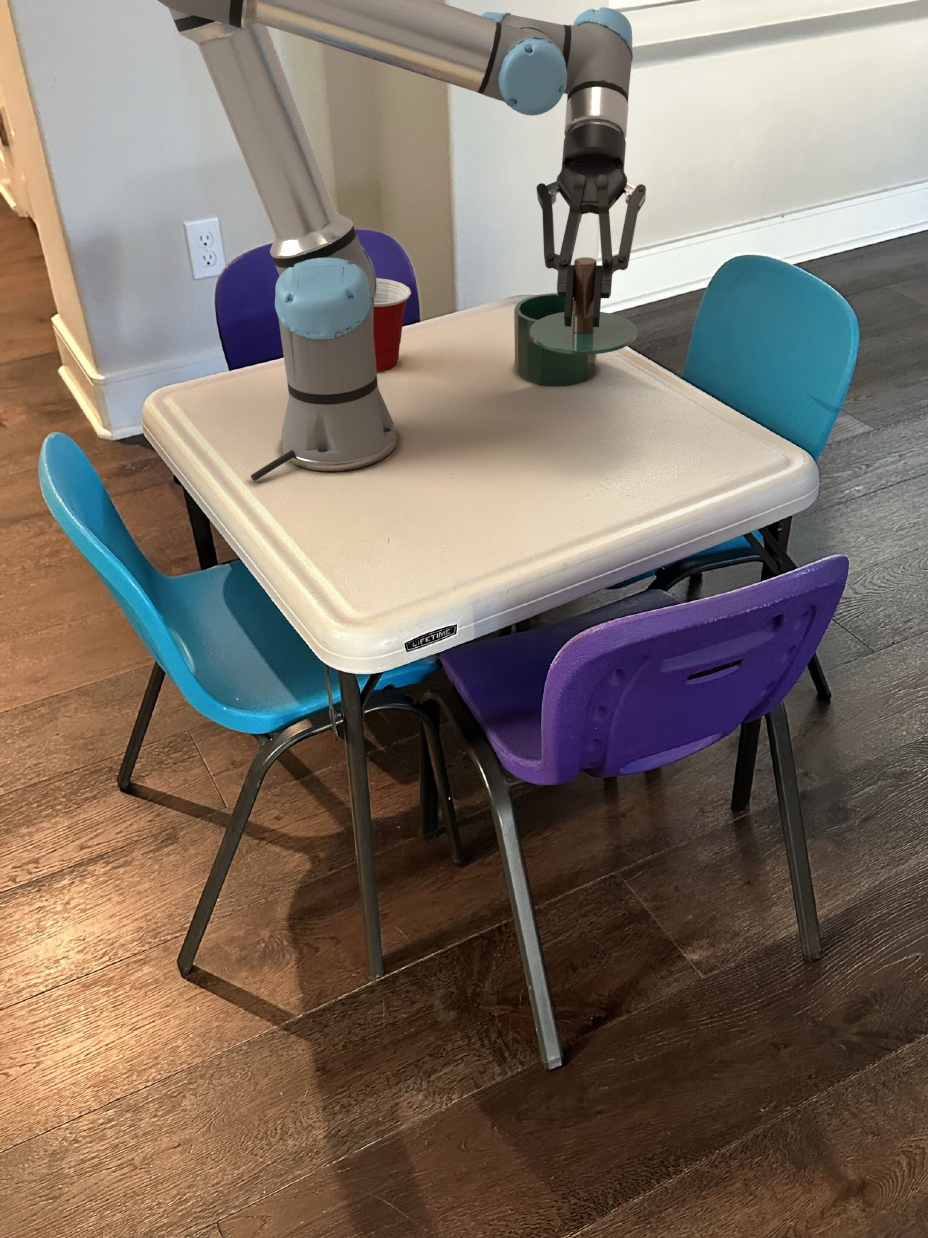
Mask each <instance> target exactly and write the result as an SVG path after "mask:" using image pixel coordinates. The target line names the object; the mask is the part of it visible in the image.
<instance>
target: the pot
mask: <svg viewBox="0 0 928 1238" xmlns="http://www.w3.org/2000/svg"><path fill="white" fill-rule="evenodd" d="M564 311H565V297H559V296H558V293H557V292H551V293H542V294H536V295H531V296H529V297H525V298H523V299H522V300H520V301H518V302H517V303H516V304H515V307H514V310H513V313H514V314H513V316H514V317H513V318H514V319H513V320H514V322H513V323H514V326H513V327H514V330H513V331H514V368H515V373H516V375H517V376H518V377H519V378H521V379H522V380H523V381H526V382H529V383H532V384H536V385H540V386H541V385H542V386H550V387H551V386H556V387H557V386H558V387H559V386H569V385H574V384H578V383H581V382H584V381H586V380H588V379H590V378H592V377H593V375H594V374H595V372H596V370H597V369H596V368H597V359H598V358H597V355H598V354H592V355H575V354H565V353H559V352H555V351H551V350H548V349H545V348H543V347H541V346H539V345H537V344H536V343H535V342H534V341H533V340H532V339H531V337H530V328H531V326H532V325H533V324H534V323H535V322H536V321H538V320H539V319H541V318H543V317H546V316H549V315H552V314H556V313H561V312H564ZM572 311H573V310H572Z"/></svg>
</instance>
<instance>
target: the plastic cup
mask: <svg viewBox="0 0 928 1238" xmlns="http://www.w3.org/2000/svg"><path fill="white" fill-rule="evenodd" d="M411 294H412V292H411V289H410V287H409V286H407V285H406V284H404V283H403V282H399V281H396V280H392V279H385V278H378V277H376V294H375V299H374V315H373V335H374V347H375V359H376V370H377V373H380V372H381V373H382V372H387V371H390V370H393V369H395V368H396V367H397V365H398V361H399V359H400V358H399V357H400V347H401V346H400V345H401V343H402V333H403V324H404V316H405V310H406V306H407V302H408V300H409V298H410V296H411Z"/></svg>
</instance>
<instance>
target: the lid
mask: <svg viewBox="0 0 928 1238" xmlns="http://www.w3.org/2000/svg"><path fill="white" fill-rule="evenodd" d="M573 265H574V297H573V311H572V323H571V327H569V326H565V322H564V312H561V313H556V314H552V315H549V316H546V317H543V318H541V319H539V320H538V321H536V322H535V323H534V324H533V325H532V326H531V328H530V337H531V339H532V340H533V341H534V342H535V343H536V344H537V345H539V346H541V347H543V348H545V349H548V350H551V351H555V352H559V353H565V354H575V355H592V354H597V355H601V354H609V353H612V352H616V351H618V350H622V349H624V348H626V347H628V346H629V345H632V343H633V342H634V341H636V338H637V334H638V330H637V327H636V325H635V324H634V323H633V322H632V321H630V320H629V319H627V318H625V317H623V316H621V315H617V314H614V313H610V312H605V311H600V321H599V327H593V322H592V315H593V301H594V287H595V273H596V265H597V259H595V258H593V257H589V256H588V257H587V256H586V257H585V256H584V257H578V258H576V259H574V262H573Z"/></svg>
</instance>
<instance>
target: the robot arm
mask: <svg viewBox="0 0 928 1238" xmlns="http://www.w3.org/2000/svg"><path fill="white" fill-rule="evenodd" d="M157 2H159V3H160V4H162V5H164V7H166V8H168V10H169V13H170V15H171V18H172V20H173V22H174V25H175V28H176V30H177V32H178V34H179V36H182V37H184V38H186V39H188V40H189V41H192V42H193V43H195V44H196V45H197V47H198V50H199V52H200V54H201V57H202V59H203V61H204V64H205V66H206V69H207V72H208V74H209V77H210V80H211V81H212V84H213V86H214V89H215V91H216V93H217V96H218V98H219V101H220V103H221V105H222V108H223V110H224V113H225V115H226V118H227V120H228V123H229V125H230V127H231V130H232V133H233V135H234V137H235V140H236V143H237V145H238V147H239V150H240V153H241V155H242V157H243V159H244V162H245V165H246V167H247V169H248V172H249V174H250V177H251V180H252V182H253V184H254V187H255V189H256V191H257V194H258V196H259V198H260V201H261V204H262V206H263V208H264V211H265V213H266V217H267V218H268V220H269V223H270V226H271V228H272V230H273V233H274V239H273V243H272V245H271V247H270V249H269V253H270V255H271V258H272V260H273V263H274V266H275V268H276V271H277V273H278V275H279V277H278V278H277V280H276V284H275V289H274V290H275V297H274V309H275V312H276V314H277V318H278V324H279V331H280V339H281V346H282V354H283V360H284V361H283V363H284V368H285V376H286V382H287V389H288V400H287V405H286V409H285V416H284V419H283V425H282V430H281V449H282V453H283V455H280V456H279V457H278V458H276V459H273V460H272V461H271V462H269V463H268V464H266V465H265V466H263V467H261V468H260V469H258V470H257V471H255V472H254V473H252V474H250V478H251V480H252V481H253V482H257V481H258V480H260V479H261V478H263V477H264V476H265V475H267V474H269V473H270V472H272V471H273V470H275V469H277V468H279V467H280V466H282V465H283V464H284V463H287V462H291V464H294V465H296V466H298V467H301V468H304V469H307V470H313V471H318V472H319V471H321V472H342V471H349V470H355V469H360V468H363V467H366V466H370V465H372V464H375V463H377V462H378V461H379V462H380V461H381V460H383V459H385V457H387V456H388V455H389V454H391V453H392V452H393V450H394V449H395V447H396V445H397V433H396V432H397V431H396V427H395V424H394V420H393V417H392V416H391V413H390V411H389V409H388V408H387V405H386V402H385V400H384V398H383V395H382V393H381V391H380V388H379V384H378V383H379V382H378V372H377V370H376V359H375V347H374V335H373V315H374V299H375V294H376V278H377V275H376V274H377V273H376V270H375V266H374V264H373V261H372V259H371V257H370V256H369V254H368V252H367V250H365V248H364V247H363V246H362V245H361V241H360V239H359V237H358V234H357V231H356V229H355V227H354V224H353V221H352V219H350V217H347V216H344V215H343V214H341V213H338V211H337V210H336V207H335V205H334V202H333V199H332V196H331V194H330V191H329V189H328V186H327V184H326V181H325V178H324V175H323V173H322V170H321V167H320V165H319V162H318V159H317V156H316V153H315V151H314V148H313V145H312V143H311V140H310V138H309V135H308V132H307V129H306V127H305V124H304V121H303V119H302V116H301V113H300V110H299V108H298V105H297V102H296V100H295V97H294V95H293V92H292V90H291V87H290V84H289V81H288V79H287V75H286V73H285V71H284V68H283V66H282V63H281V60H280V57H279V55H278V51H277V49H276V46H275V44H274V41H273V38H272V36H271V32H270V30H269V28H268V27H270V28H272V29H276V30H279V31H282V32H285V33H288V34H291V35H295V36H298V37H301V38H304V39H308V40H310V41H313V42H317V43H319V44H320V43H321V44H323V45H326V46H329V47H333V48H336V49H338V50H343V51H346V52H348V53H351V54H355V55H358V56H361V57H364V58H367V59H371V60H374V61H377V62H380V63H383V64H387V65H389V66H393V67H395V68H399V69H401V70H405V71H409V72H411V73H416V74H418V75H421V76H425V77H427V78H430V79H434V80H437V81H440V82H443V83H446V84H450V85H452V86H456V87H459V88H462V89H466V90H468V91H471V92H475V93H477V94H480V95H483V96H485V97H487V98H491V99H494V100H497V101H500V102H504V103H505V104H506V105H507V106H508V107H509V108H511V109H512V110H513V111H515V112H517V113H519V114H521V115H525V116H533V117H534V116H540V115H543V114H546V113H548V112H549V111H551V110H552V109H554V107H556V106H557V104H559V102H560V101H561V99H563V98H562V97H563V96H564V95H566V105H565V117H564V119H565V120H564V122H565V123H564V133H563V134H564V139H563V145H562V146H563V148H562V160H561V170H560V172H559V173H558V174H557V177H556V181H554V182H551V183H549V184H546V183H539V184H537V185H536V196H537V201H538V203H539V206H540V208H541V212H542V213H541V215H542V240H543V258H544V265H545V268H547V269H554V270H556V271H557V280H556V281H557V282H556V293H558V296H559V297H565V311H564V322H565V326H569V327H571V323H572V310H573V297H574V264H572V261H573V256H574V251H575V247H576V243H577V237H578V233H579V228H580V224H581V221H582V217H583V215H587V214H593V215H598V224H599V237H600V238H599V239H600V253H601V265H600V264H599V265H598V264H596V273H595V287H594V301H593V315H592V322H593V327H599V321H600V312H601V306H602V305H601V304H602V302H601V301H602V299H610V297H611V295H612V285H613V275H614V273H615V272H616V271H619V270H620V271H626V270H627V269H628V267H629V263H630V257H631V253H632V247H633V241H634V235H635V231H636V226H637V225H636V224H637V221H638V215H639V212H640V210H641V209H642V207H643V206H644V204H645V202H646V196H647V195H646V193H647V187H646V185H645V184H641V183H640V184H637V185H635V184H633V183H631V182H629V181H628V177H627V175H626V173H625V163H626V162H625V161H626V149H627V141H626V138H627V133H628V132H627V131H628V117H629V97H630V96H629V95H630V85H631V84H630V83H631V73H632V72H631V71H632V62H633V59H634V52H633V28H632V26H631V22H630V21H629V19H628V18H627V17H626V16H625V15H624V14H623V13H621V11H620V10H619V11H618V10H616V9H614V8H612V7H606V6H605V7H604V6H602V7H600V8H598V9H594V8H589V9H587V10H584V11H582V12H581V13H580V14H579V15H578V16H577V17H576V18H575V20H574V22H573V24H561V23H555V22H551V21H545V20H540V19H534V18H531V17H526V16H525V17H524V16H520V15H515V14H512V13H511V12H504V13H502V12H493V11H485V12H482V13H481V14H476V13H474V12H471V11H468V10H465V9H462V8H459V7H456V6H453V5H451V4H447V3H444V2H441V1H439V0H157ZM558 194H560V195H561V197H562V198H563V199H564V201H565V203H566V204H567V205H568V207H569V209H568V215H567V220H566V224H565V229H564V233H563V238H562V241H561V247H560V251H559V254H558V253H556V252H555V251H556V250H555V225H554V209H553V205H555V203H556V202H557V196H558ZM623 194H624V195H625V200H624V201H625V203H626V204H627V205H626V211H625V216H624V222H623V227H622V232H621V238H620V244H619V247H618V254H616V255H613V245H612V233H611V232H612V231H611V230H612V229H611V219H610V217H611V216H610V210H611V208H612V207H613V206H614V205H615V204H616V203H617V201H618V200H619V199H620V198H621V197H622V196H623Z"/></svg>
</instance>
